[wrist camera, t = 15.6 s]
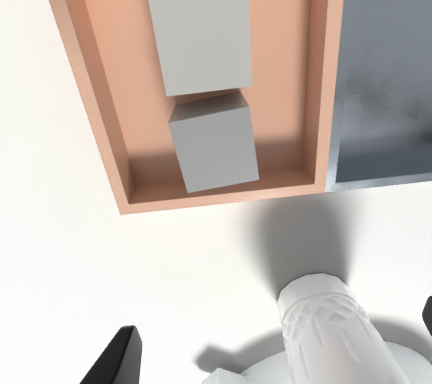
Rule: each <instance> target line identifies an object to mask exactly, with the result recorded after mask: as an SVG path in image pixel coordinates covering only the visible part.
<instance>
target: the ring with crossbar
mask: <svg viewBox="0 0 432 384" xmlns="http://www.w3.org/2000/svg"><path fill="white" fill-rule="evenodd" d="M384 342H385V343H386V345H387V346H388V348H389V350H390V351H391V353H392V354H393V356H394V358H395V359H396V361H397V362H398V364H399V365H400V367H401V369H402V370H403V372H404V373H405V375H406V377H407V378H408V380H409V381H410V383H411V384H432V365H431V364H430V362H429V361H428V360H427V359H426V358H425V357H423V356H422V355H421V354H419V353H418V352H416V351H414V350H412V349H410V348H407V347H405V346H402V345H399V344H395V343H391V342H386V341H384ZM202 384H292V382H291V377H290V373H289V368H288V362H287V356H286V351H283V352H280V353H277V354H275V355H272V356H270V357H268V358H266V359H264V360H262V361H260V362H258V363H256V364H254V365H252V366H251V367H249V368H248V369H246V370H245V371H243V372H242V373H241V374H237V373H234V372H231V371H228V370H224V369H221V368H217V369H216V370H215V371H214V372H212V373H211V374H210V375H209V376H208V377H207V378H206V379H205V380H204V381H203V382H202Z"/></svg>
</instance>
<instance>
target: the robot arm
mask: <svg viewBox="0 0 432 384" xmlns="http://www.w3.org/2000/svg"><path fill="white" fill-rule="evenodd" d="M422 317H423V321H424V323H425V325H426V327H427V329H428V331H429V332H430V334H431V336H432V296H430V297H428V299H427V302H426V304H425V307H424V309H423V312H422ZM141 355H142V341H141V338H140V336H139V333H138V331H137V328H136V326H134V325H131V326H123V327H121V328H120V329H119V331H118V332H117V333H116V335H115V336H114V338H113V339H112V340H111V342H110V343H109V344H108V346H107V347H106V348H105V350H104V351H103V352H102V354H101V355H100V357H99V358H98V359H97V361H96V362H95V363H94V365H93V366H92V367H91V369H90V370H89V371H88V373H87V374H86V376H85V377H84V378H83V380H82V381H81V382H80V384H139V376H140V365H141Z"/></svg>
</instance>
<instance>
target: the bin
mask: <svg viewBox="0 0 432 384" xmlns="http://www.w3.org/2000/svg"><path fill="white" fill-rule="evenodd" d="M426 181H432V0H344V1H343V11H342V22H341V32H340V43H339V53H338V63H337V74H336V84H335V95H334V105H333V115H332V126H331V136H330V147H329V157H328V167H327V178H326V188H325V192H334V191H343V190H352V189H362V188H371V187H380V186H389V185H398V184H408V183H417V182H426Z"/></svg>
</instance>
